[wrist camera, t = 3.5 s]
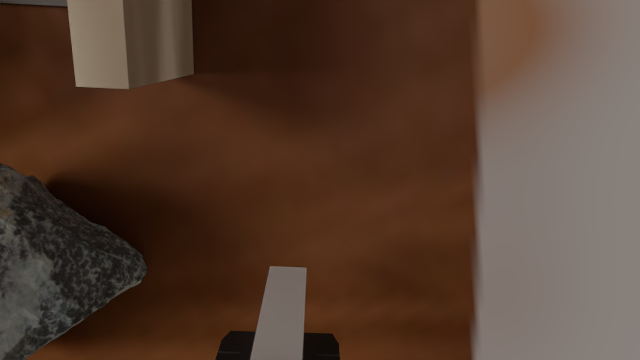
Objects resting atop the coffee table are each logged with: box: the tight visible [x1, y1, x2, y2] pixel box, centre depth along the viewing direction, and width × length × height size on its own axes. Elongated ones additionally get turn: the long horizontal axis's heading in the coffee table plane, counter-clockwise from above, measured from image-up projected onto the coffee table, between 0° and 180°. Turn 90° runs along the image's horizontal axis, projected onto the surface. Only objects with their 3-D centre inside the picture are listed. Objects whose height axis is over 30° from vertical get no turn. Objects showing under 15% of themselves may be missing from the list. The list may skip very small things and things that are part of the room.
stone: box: [0, 163, 147, 360], centre depth 19 cm, size 10×10×10 cm
